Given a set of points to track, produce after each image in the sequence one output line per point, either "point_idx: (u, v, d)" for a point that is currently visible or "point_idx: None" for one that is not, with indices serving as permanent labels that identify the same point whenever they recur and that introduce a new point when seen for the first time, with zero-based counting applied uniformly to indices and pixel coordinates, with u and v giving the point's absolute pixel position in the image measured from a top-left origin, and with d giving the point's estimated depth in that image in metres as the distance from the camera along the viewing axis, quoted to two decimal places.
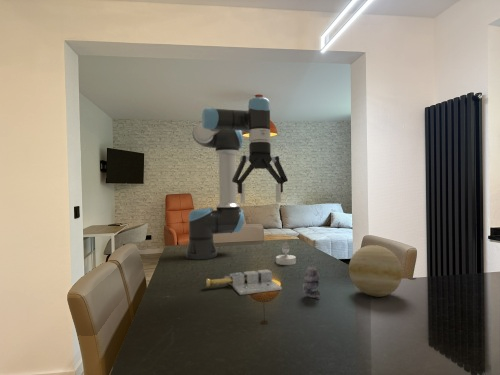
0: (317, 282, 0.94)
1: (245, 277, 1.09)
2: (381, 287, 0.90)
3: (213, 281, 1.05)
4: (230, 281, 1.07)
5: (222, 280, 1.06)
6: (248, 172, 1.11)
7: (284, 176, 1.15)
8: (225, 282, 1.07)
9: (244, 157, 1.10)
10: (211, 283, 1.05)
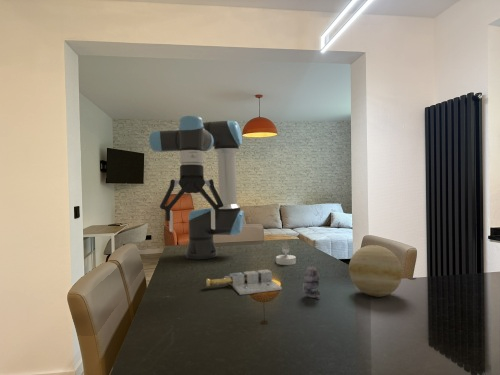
0: (317, 282, 0.94)
1: (245, 277, 1.09)
2: (381, 287, 0.90)
3: (213, 281, 1.05)
4: (230, 281, 1.07)
5: (222, 280, 1.06)
6: (177, 198, 1.01)
7: (219, 201, 1.06)
8: (225, 282, 1.07)
9: (172, 181, 1.01)
10: (211, 283, 1.05)
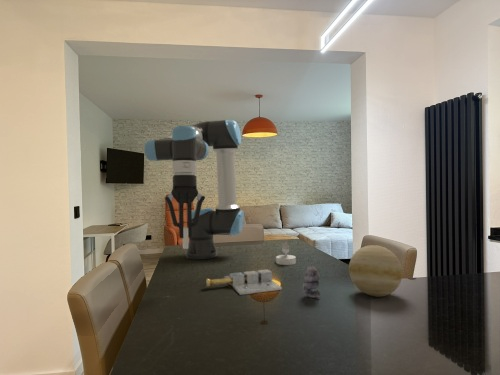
0: (317, 282, 0.94)
1: (245, 277, 1.09)
2: (381, 287, 0.90)
3: (213, 281, 1.05)
4: (230, 281, 1.07)
5: (222, 280, 1.06)
6: (181, 212, 1.02)
7: (196, 219, 1.03)
8: (225, 282, 1.07)
9: (167, 198, 1.00)
10: (211, 283, 1.05)
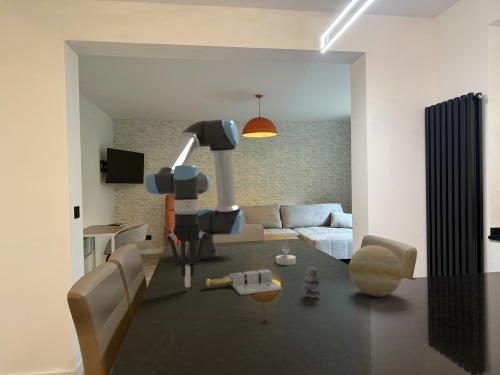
0: (317, 282, 0.94)
1: (245, 277, 1.09)
2: (381, 287, 0.90)
3: (213, 281, 1.05)
4: (230, 281, 1.07)
5: (222, 280, 1.06)
6: (183, 250, 1.02)
7: (198, 257, 1.03)
8: (225, 282, 1.07)
9: (169, 238, 1.00)
10: (211, 283, 1.05)
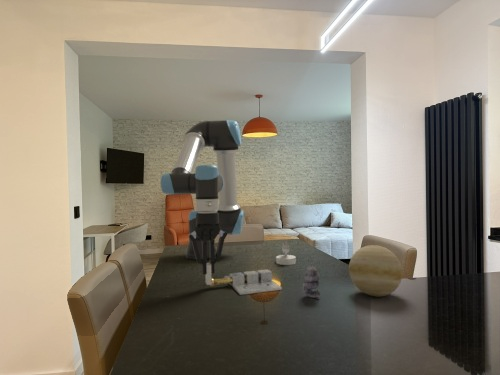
0: (317, 282, 0.94)
1: None
2: (381, 287, 0.90)
3: (217, 281, 1.06)
4: None
5: (225, 280, 1.07)
6: (204, 249, 1.04)
7: (218, 255, 1.06)
8: (229, 282, 1.07)
9: (191, 236, 1.03)
10: (215, 283, 1.05)
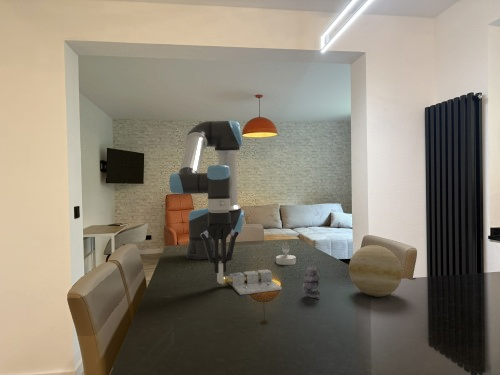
0: (317, 282, 0.94)
1: (259, 275, 1.11)
2: (381, 287, 0.90)
3: (228, 279, 1.07)
4: (245, 279, 1.09)
5: None
6: (216, 248, 1.05)
7: (230, 254, 1.07)
8: None
9: (203, 236, 1.04)
10: (226, 281, 1.07)
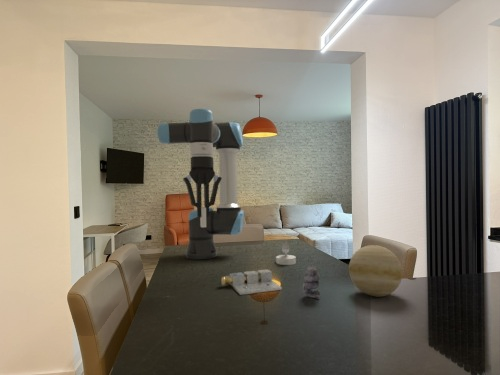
0: (317, 282, 0.94)
1: (259, 275, 1.11)
2: (381, 287, 0.90)
3: (228, 279, 1.07)
4: (245, 279, 1.09)
5: None
6: (199, 192, 1.06)
7: (213, 199, 1.07)
8: None
9: (185, 179, 1.04)
10: (226, 281, 1.07)
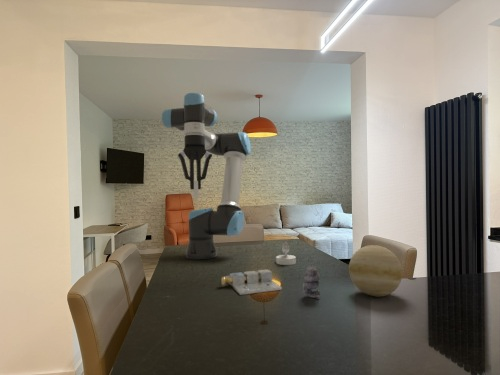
0: (317, 282, 0.94)
1: (259, 275, 1.11)
2: (381, 287, 0.90)
3: (228, 279, 1.07)
4: (245, 279, 1.09)
5: None
6: (192, 167, 1.19)
7: (204, 173, 1.20)
8: None
9: (180, 155, 1.17)
10: (226, 281, 1.07)
